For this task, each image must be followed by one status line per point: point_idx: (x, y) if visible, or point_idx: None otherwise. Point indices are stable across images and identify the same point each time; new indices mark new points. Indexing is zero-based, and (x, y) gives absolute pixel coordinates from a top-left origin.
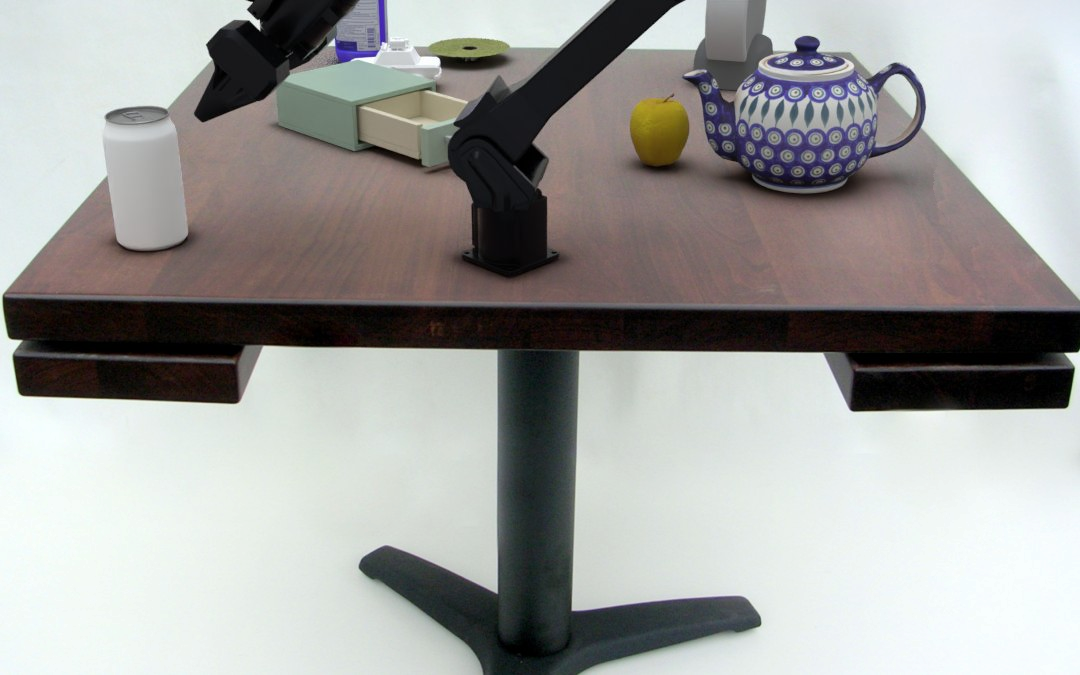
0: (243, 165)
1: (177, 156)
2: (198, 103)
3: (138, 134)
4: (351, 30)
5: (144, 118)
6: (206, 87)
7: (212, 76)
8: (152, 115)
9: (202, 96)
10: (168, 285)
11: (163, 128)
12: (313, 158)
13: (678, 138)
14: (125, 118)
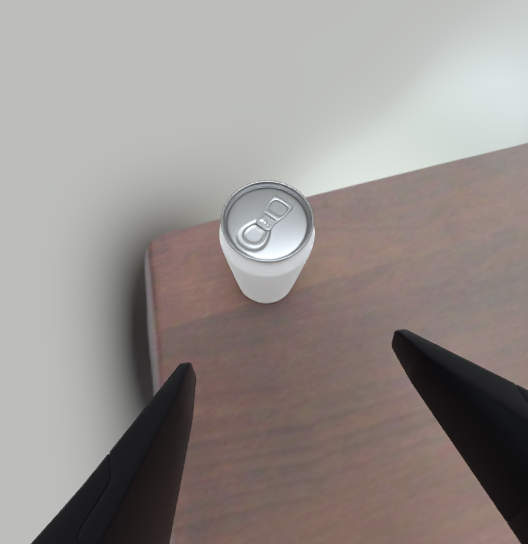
0: (456, 256)
1: (275, 285)
2: (160, 388)
3: (226, 249)
4: None
5: (265, 232)
6: (113, 448)
7: (51, 523)
8: (284, 234)
9: (142, 412)
10: (179, 338)
11: (258, 268)
12: (512, 309)
13: None
14: (258, 208)
